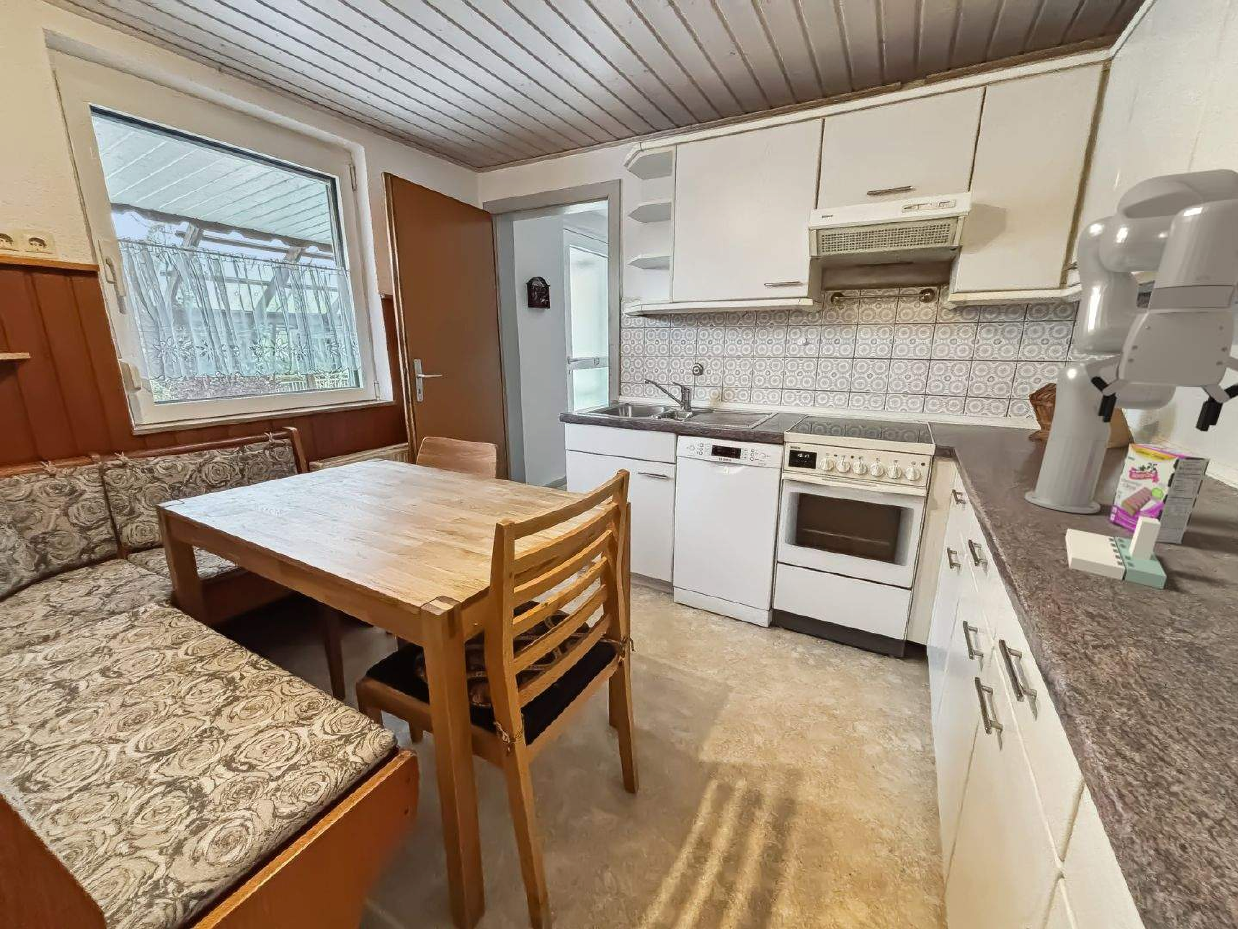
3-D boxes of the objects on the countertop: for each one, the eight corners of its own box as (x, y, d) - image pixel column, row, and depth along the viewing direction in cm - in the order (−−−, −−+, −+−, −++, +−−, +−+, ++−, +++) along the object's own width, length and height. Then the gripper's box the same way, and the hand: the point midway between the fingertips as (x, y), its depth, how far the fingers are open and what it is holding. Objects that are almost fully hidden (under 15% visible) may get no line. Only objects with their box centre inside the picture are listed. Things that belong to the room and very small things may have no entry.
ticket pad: (1065, 538, 90) (1067, 528, 90) (1110, 547, 86) (1113, 536, 86) (1069, 568, 78) (1072, 556, 78) (1121, 580, 75) (1125, 568, 74)
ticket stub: (1112, 547, 86) (1125, 504, 84) (1144, 553, 84) (1158, 510, 82) (1124, 580, 74) (1139, 531, 72) (1162, 589, 72) (1179, 539, 70)
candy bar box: (1104, 521, 99) (1127, 442, 95) (1133, 523, 98) (1157, 444, 94) (1150, 543, 89) (1178, 456, 84) (1183, 545, 88) (1213, 457, 83)
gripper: (1280, 302, 64) (1236, 430, 68) (1099, 305, 75) (1071, 416, 79) (1302, 298, 58) (1252, 437, 63) (1103, 302, 69) (1072, 421, 74)
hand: (1151, 425), depth 71 cm, fingers open, 9 cm apart
